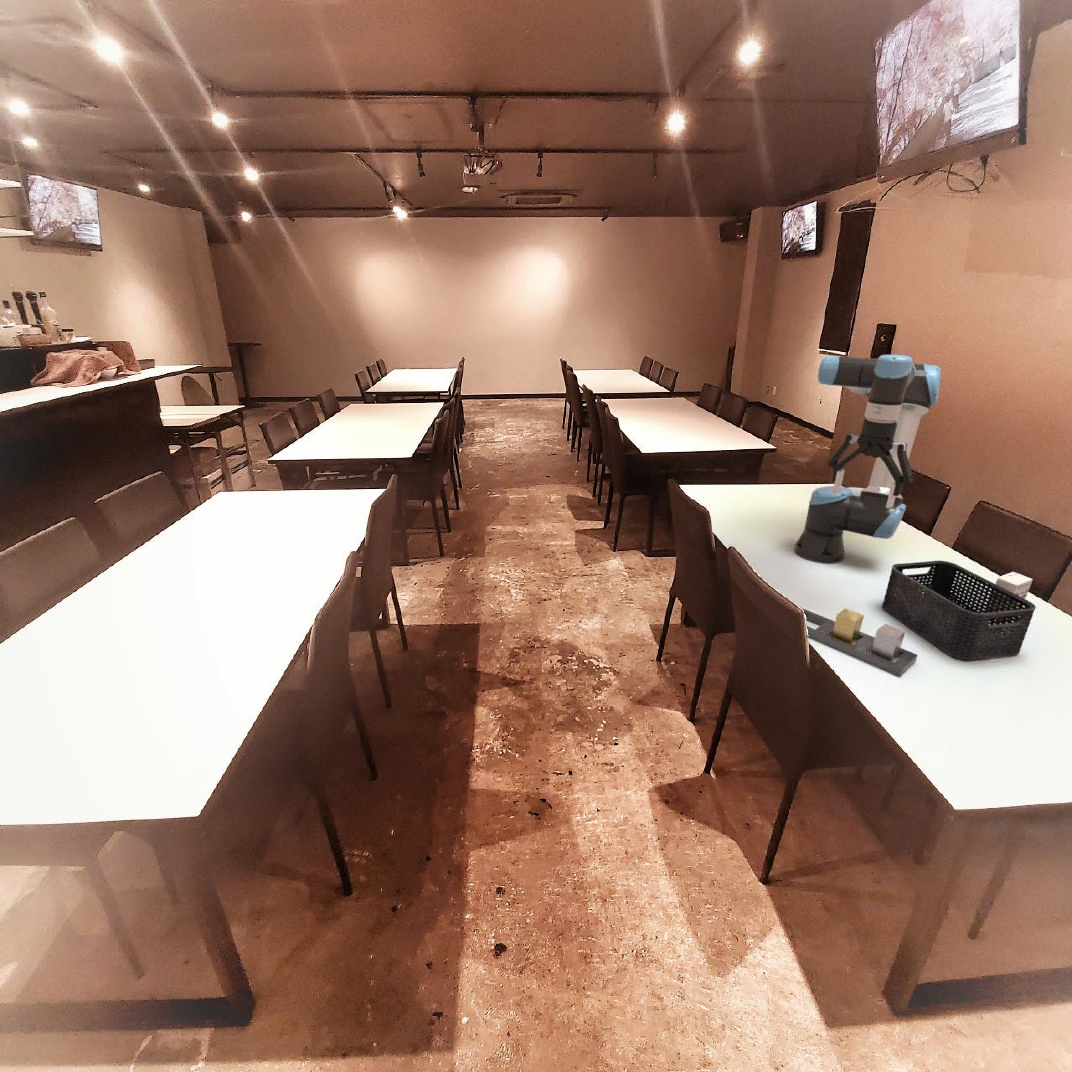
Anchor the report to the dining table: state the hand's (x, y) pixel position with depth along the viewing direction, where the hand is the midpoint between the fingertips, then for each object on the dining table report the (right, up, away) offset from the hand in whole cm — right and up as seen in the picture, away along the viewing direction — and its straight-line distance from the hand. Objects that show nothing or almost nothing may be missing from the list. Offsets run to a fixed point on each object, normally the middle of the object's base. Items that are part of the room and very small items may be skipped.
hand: (861, 500), depth 155 cm
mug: (+36, -5, +70) cm, 79 cm away
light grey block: (-1, -39, -12) cm, 41 cm away
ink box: (+43, -32, +7) cm, 54 cm away
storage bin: (+23, -34, +1) cm, 41 cm away
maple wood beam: (-8, -37, -5) cm, 38 cm away
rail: (-7, -37, -5) cm, 38 cm away
